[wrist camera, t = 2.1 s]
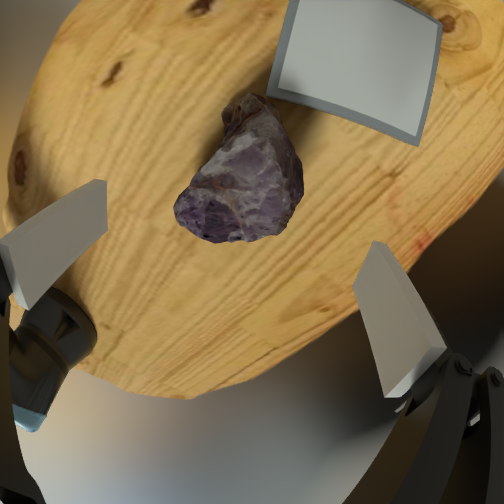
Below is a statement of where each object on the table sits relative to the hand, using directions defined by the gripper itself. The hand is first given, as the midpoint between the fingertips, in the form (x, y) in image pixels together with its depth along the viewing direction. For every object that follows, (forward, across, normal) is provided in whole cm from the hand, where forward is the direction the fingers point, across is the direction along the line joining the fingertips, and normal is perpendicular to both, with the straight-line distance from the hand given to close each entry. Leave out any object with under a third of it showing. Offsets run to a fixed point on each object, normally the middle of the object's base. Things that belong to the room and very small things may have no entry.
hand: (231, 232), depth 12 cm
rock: (+15, 0, 0) cm, 15 cm away
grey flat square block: (+15, +7, +14) cm, 21 cm away
